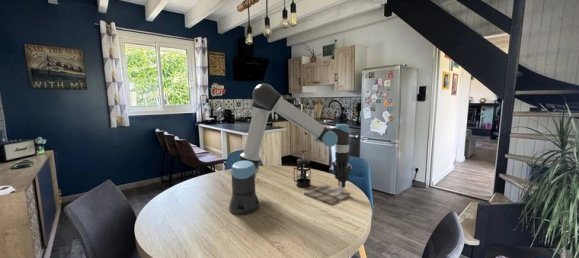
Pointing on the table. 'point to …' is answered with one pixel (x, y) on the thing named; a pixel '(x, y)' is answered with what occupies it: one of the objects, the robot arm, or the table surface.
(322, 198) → the laid board
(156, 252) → the table surface
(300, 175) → the french press
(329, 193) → the plank
